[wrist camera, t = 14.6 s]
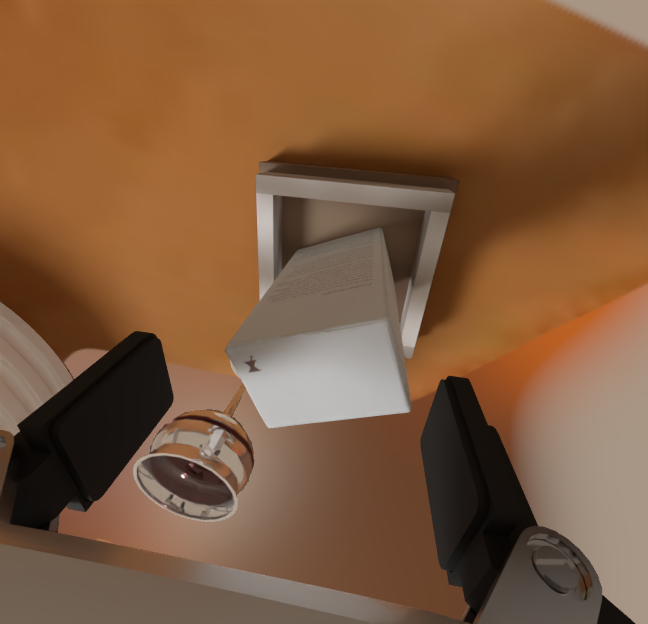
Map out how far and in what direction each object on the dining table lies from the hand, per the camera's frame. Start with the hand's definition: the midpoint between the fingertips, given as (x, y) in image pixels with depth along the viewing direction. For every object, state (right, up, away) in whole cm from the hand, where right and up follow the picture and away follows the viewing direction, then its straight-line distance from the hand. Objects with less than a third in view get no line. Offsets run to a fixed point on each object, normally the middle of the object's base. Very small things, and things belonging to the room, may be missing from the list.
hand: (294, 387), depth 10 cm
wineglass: (-5, -2, +19) cm, 20 cm away
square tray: (+3, +6, +12) cm, 14 cm away
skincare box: (+3, +6, +11) cm, 13 cm away
